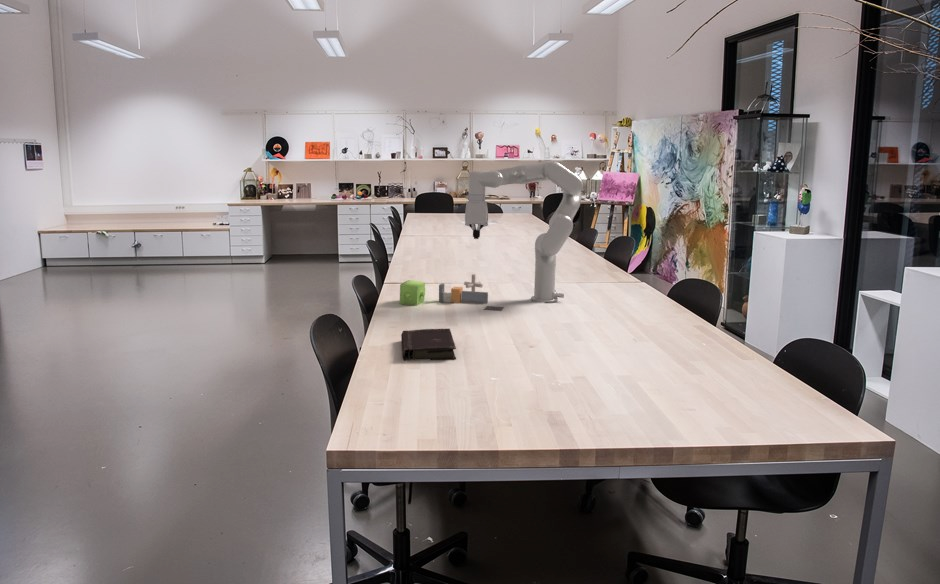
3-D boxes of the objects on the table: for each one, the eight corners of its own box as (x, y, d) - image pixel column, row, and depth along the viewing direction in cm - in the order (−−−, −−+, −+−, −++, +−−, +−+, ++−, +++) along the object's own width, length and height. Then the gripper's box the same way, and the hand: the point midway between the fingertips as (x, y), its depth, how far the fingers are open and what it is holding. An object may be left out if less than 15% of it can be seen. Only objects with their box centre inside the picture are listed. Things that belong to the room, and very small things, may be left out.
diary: (402, 363, 233) (402, 348, 232) (401, 343, 258) (401, 329, 257) (458, 361, 235) (458, 346, 234) (452, 341, 260) (452, 328, 259)
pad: (504, 307, 315) (504, 307, 315) (501, 311, 307) (501, 310, 307) (486, 306, 317) (486, 305, 317) (483, 310, 309) (483, 309, 309)
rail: (488, 302, 325) (488, 285, 324) (486, 305, 320) (486, 287, 319) (441, 300, 330) (441, 283, 329) (438, 302, 325) (438, 285, 324)
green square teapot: (416, 309, 313) (417, 288, 311) (395, 306, 316) (396, 285, 313) (429, 300, 330) (430, 280, 328) (409, 298, 332) (410, 278, 330)
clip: (462, 300, 328) (462, 287, 327) (459, 302, 323) (459, 289, 322) (454, 299, 329) (454, 286, 328) (451, 302, 324) (451, 288, 323)
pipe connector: (475, 297, 336) (475, 277, 335) (458, 295, 342) (459, 274, 340) (487, 294, 344) (487, 274, 342) (471, 292, 350) (471, 272, 348)
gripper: (459, 198, 319) (458, 239, 322) (491, 199, 316) (490, 240, 319) (462, 197, 326) (462, 237, 330) (494, 198, 323) (493, 238, 326)
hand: (476, 238), depth 324 cm, fingers closed
